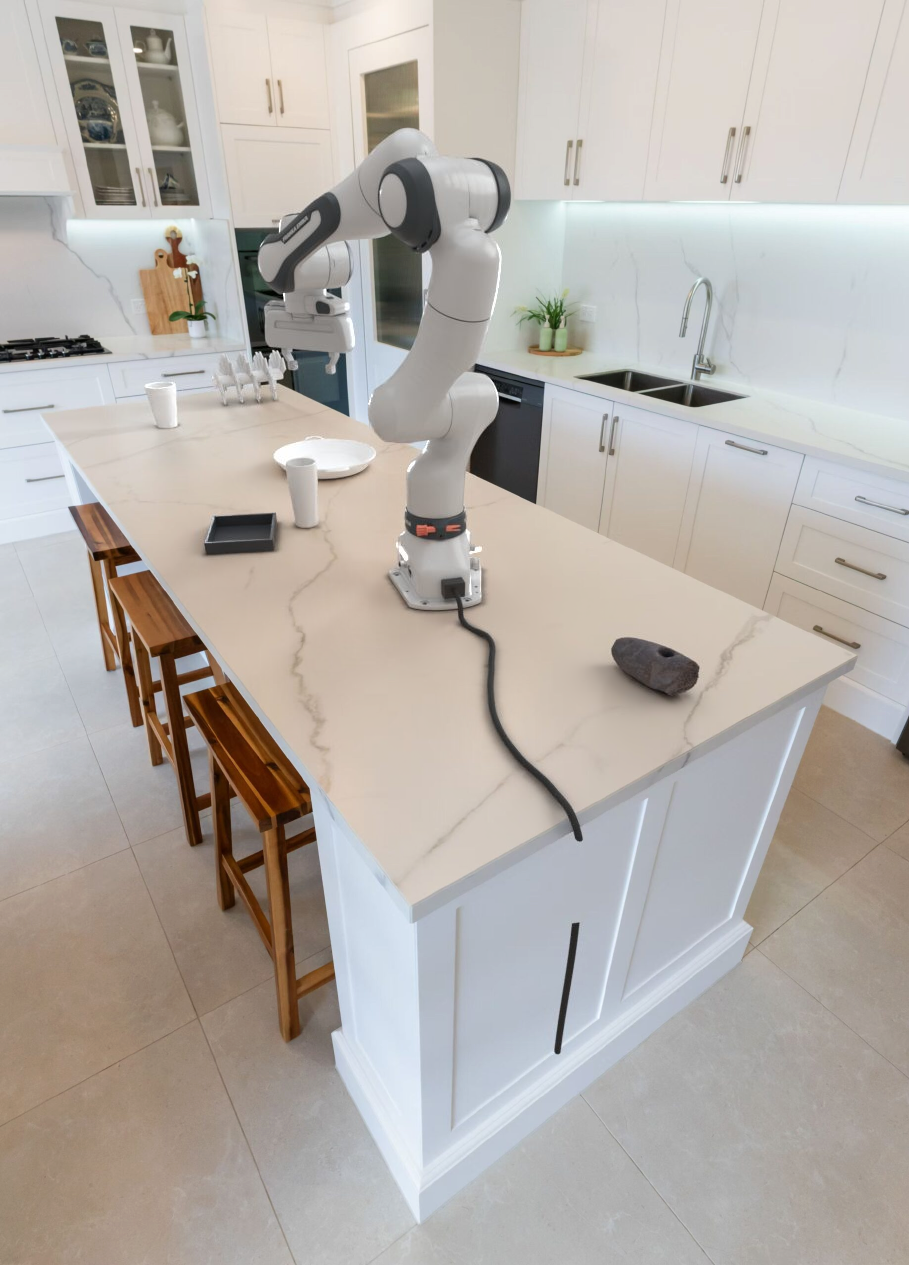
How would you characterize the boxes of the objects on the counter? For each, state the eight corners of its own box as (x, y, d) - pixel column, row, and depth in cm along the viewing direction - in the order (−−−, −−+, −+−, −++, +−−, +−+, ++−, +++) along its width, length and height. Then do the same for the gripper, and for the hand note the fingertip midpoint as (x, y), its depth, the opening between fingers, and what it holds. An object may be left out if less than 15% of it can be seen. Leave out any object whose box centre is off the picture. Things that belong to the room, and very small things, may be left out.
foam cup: (153, 423, 245) (145, 382, 239) (182, 421, 248) (175, 381, 241) (152, 430, 238) (144, 389, 231) (182, 428, 240) (175, 387, 233)
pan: (392, 480, 199) (391, 464, 197) (286, 492, 190) (285, 476, 188) (359, 445, 226) (358, 431, 223) (265, 455, 217) (263, 440, 214)
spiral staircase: (217, 413, 272) (283, 403, 281) (222, 402, 256) (292, 391, 265) (203, 363, 269) (270, 354, 279) (208, 348, 253) (279, 340, 262)
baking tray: (274, 550, 159) (272, 539, 157) (206, 554, 157) (204, 543, 155) (277, 523, 172) (275, 512, 171) (214, 526, 170) (212, 515, 169)
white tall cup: (315, 531, 168) (309, 467, 160) (287, 528, 169) (280, 465, 162) (325, 520, 174) (320, 458, 166) (298, 518, 175) (292, 456, 167)
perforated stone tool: (600, 666, 121) (605, 630, 117) (620, 655, 124) (626, 620, 120) (676, 709, 111) (684, 670, 108) (697, 696, 114) (705, 658, 110)
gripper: (254, 301, 154) (263, 370, 161) (341, 307, 147) (345, 378, 155) (272, 298, 159) (279, 365, 166) (356, 303, 153) (359, 372, 160)
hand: (311, 371), depth 160 cm, fingers open, 8 cm apart
